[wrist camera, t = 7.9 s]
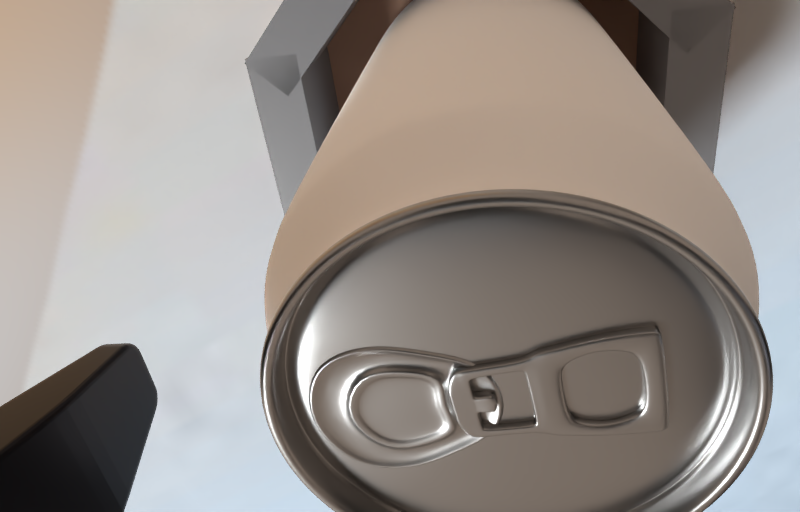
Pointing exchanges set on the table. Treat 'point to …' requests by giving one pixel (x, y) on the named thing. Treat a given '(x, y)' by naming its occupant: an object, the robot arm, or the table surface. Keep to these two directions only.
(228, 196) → the table surface
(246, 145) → the table surface
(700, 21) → the socket
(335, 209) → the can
